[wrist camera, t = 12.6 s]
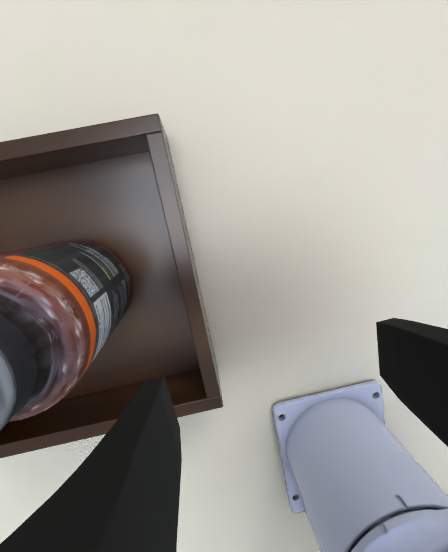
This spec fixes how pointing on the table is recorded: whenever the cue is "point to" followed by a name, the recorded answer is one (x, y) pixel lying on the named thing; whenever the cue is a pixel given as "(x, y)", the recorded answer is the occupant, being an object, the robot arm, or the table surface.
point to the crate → (135, 257)
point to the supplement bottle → (54, 320)
